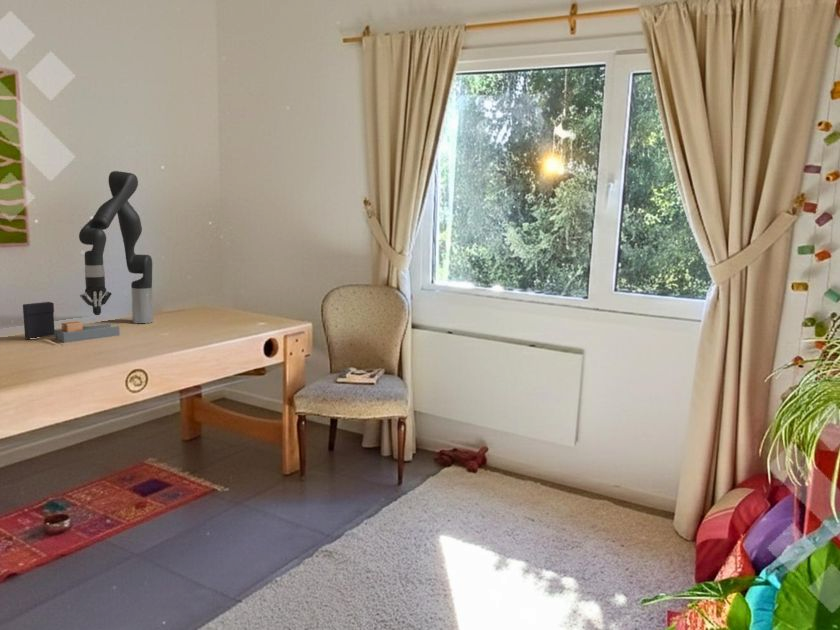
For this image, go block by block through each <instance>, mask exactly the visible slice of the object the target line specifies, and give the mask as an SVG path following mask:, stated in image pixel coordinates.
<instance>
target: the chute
mask: <svg viewBox="0 0 840 630" xmlns="http://www.w3.org/2000/svg"><path fill="white" fill-rule="evenodd" d="M54 332H55V335H54V340H57V341H60V342H62V343H64V344H66V343H67V344H68V343H72V342H73V343H75V342H81V341H88V340H89V341H90V340H94V339H102V338H110V337H119V336H120V326H117V325H116V326H112V325H111V323H101V324H93V325H85V326H83V331H75V332H65V331H63V330H62V328H58V329H54ZM60 344H61V343H60ZM61 346H63V344H61Z"/></svg>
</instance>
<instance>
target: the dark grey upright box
mask: <svg viewBox="0 0 840 630" xmlns="http://www.w3.org/2000/svg"><path fill="white" fill-rule="evenodd" d="M54 312H55V305H54V303H53V302H51V301H44V302H33V303H24V304H22V313H23V325H24V326H23V327H24V328H23V329H24V339H25V338H27V339H30V338H37V337H45V336H46V337H47V336H55V332H54V330H55V317H54V315H55V313H54ZM27 339H26V340H27Z"/></svg>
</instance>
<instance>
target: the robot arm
mask: <svg viewBox="0 0 840 630" xmlns="http://www.w3.org/2000/svg"><path fill="white" fill-rule="evenodd" d="M108 186H109V190H110V193H111V196H112V197H111V198H110V199H108V200H107V201H104V202H103V204H101V205H100V206H99V208H98V209H97V210H96V212H95V214H94V216H93V217H92V218H91V219H90V220H89V221H88V222H86V224H84V226H83V227H82V228H80V231H79V232H78V233H79V234H78V239H79V241H80V243H81V244H83V245H87V246H92V248H91V249H90V250H87V251H85V252H84V281H85V289H84V292H83V293H82V294H79V296H80V298H81V299H82V300H83V301H84V302H85V303H86V304H87V305H88V306H91V307H92V313H93V314H94V315H95V316H100V315H101V314H102V306H103V305H105V304H106V303H107V302H108V300H109V299H110V297H111V296H112V292H109V291H108V290H107V288H106V275H105V267H104V252H105V247H106V244H107V235H106V233H105V231H104V230H107V229H108V228H109V227H110V225H112V224H111V223H112V222H113V220H114V218H115V217H116V215H117V218H118V224H119V225H118V226H119V229H120V232H121V236H122V243H123V246H124V254H125V260H126V268H127V270H128V272H129V273H130V274H136V275H137V274H142V276H141V278H140V279H137V280H132V282H131V315H132V316H131V318H132V323H133V324H137V323H145V324H151V322H152V323H154V307H153V306H154V305H153V259H152V256H150V255H149V254H136V253H135V246H136V243H138V241H139V239H140V237H141V235H142V232H143V227H142V222H141V218H140V217H141V216H139V214H138V213H137V210H135V208H134V207H133V206H132V205H131V204H130V202H129V199H131V197H132V196H133V194H134V193H136V191H137V189H138V186H139V179H138V177H137V176H136V174H134V173H131V172H126V171H120V170H119V171H118V170H113V171H111V172H110V173H109V175H108ZM88 297H89V298H90V299H89V298H88Z"/></svg>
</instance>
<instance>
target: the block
mask: <svg viewBox="0 0 840 630" xmlns="http://www.w3.org/2000/svg"><path fill="white" fill-rule="evenodd" d="M61 329H62V330H63V331H65V332H75V331H83V322H81V321H78V320H74V321H66V322H64V321H63V322H61Z"/></svg>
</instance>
